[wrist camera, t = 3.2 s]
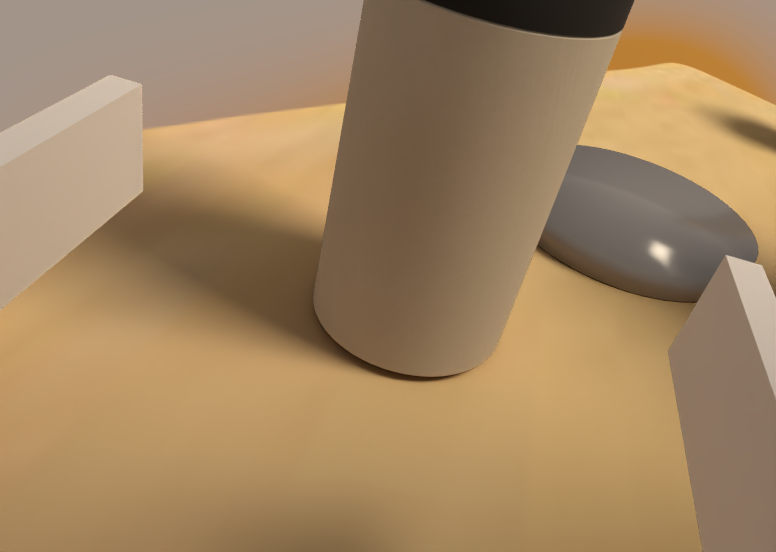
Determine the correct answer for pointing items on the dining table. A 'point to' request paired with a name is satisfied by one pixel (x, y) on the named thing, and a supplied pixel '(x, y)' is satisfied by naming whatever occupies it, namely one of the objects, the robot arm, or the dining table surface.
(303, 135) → the dining table surface
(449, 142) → the travel mug
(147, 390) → the dining table surface
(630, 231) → the charcoal plate
